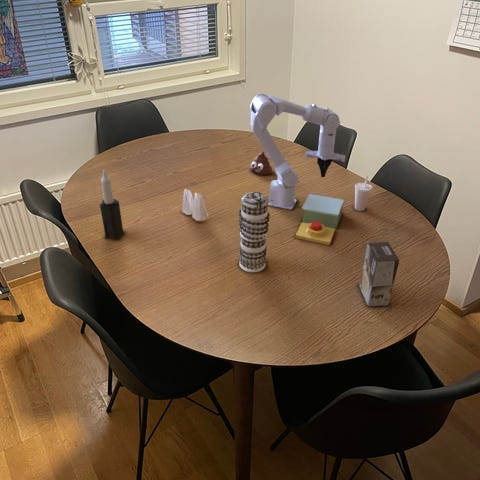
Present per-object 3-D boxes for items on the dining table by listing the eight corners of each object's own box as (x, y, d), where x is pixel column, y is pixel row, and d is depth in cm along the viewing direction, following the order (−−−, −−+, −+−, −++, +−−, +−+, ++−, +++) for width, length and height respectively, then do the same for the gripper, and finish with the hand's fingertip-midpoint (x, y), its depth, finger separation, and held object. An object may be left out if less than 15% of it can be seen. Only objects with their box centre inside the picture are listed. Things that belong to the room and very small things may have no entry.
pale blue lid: (301, 209, 166) (301, 207, 166) (309, 195, 175) (309, 193, 175) (338, 216, 163) (338, 214, 162) (343, 201, 172) (343, 199, 171)
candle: (124, 232, 162) (115, 167, 148) (116, 240, 158) (106, 174, 144) (112, 229, 163) (101, 165, 150) (104, 237, 159) (92, 171, 145)
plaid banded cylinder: (257, 276, 142) (261, 207, 129) (232, 266, 146) (233, 198, 133) (272, 261, 149) (276, 193, 135) (247, 252, 153) (249, 185, 139)
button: (309, 230, 160) (310, 225, 159) (312, 224, 163) (312, 220, 162) (320, 232, 159) (320, 227, 158) (322, 226, 162) (322, 222, 161)
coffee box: (389, 305, 132) (400, 261, 124) (367, 306, 132) (377, 261, 123) (378, 284, 140) (388, 241, 131) (358, 285, 140) (366, 242, 131)
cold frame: (302, 222, 169) (303, 209, 166) (309, 207, 178) (310, 195, 175) (336, 229, 166) (338, 216, 163) (341, 213, 175) (343, 201, 172)
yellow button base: (295, 237, 161) (296, 230, 159) (301, 224, 168) (302, 217, 166) (329, 245, 157) (330, 238, 155) (334, 231, 164) (335, 224, 163)
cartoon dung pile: (275, 170, 204) (276, 150, 199) (265, 177, 198) (266, 157, 193) (255, 165, 208) (256, 145, 203) (245, 172, 202) (246, 152, 197)
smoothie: (368, 213, 175) (374, 180, 167) (351, 211, 176) (356, 178, 168) (367, 205, 180) (374, 172, 172) (351, 203, 181) (356, 171, 173)
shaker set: (209, 221, 168) (208, 195, 162) (200, 225, 166) (199, 199, 160) (190, 208, 176) (189, 182, 170) (181, 212, 174) (179, 186, 168)
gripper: (305, 144, 169) (302, 178, 176) (345, 149, 165) (341, 183, 173) (308, 137, 174) (305, 170, 182) (347, 142, 171) (343, 174, 178)
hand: (323, 175), depth 178 cm, fingers closed
